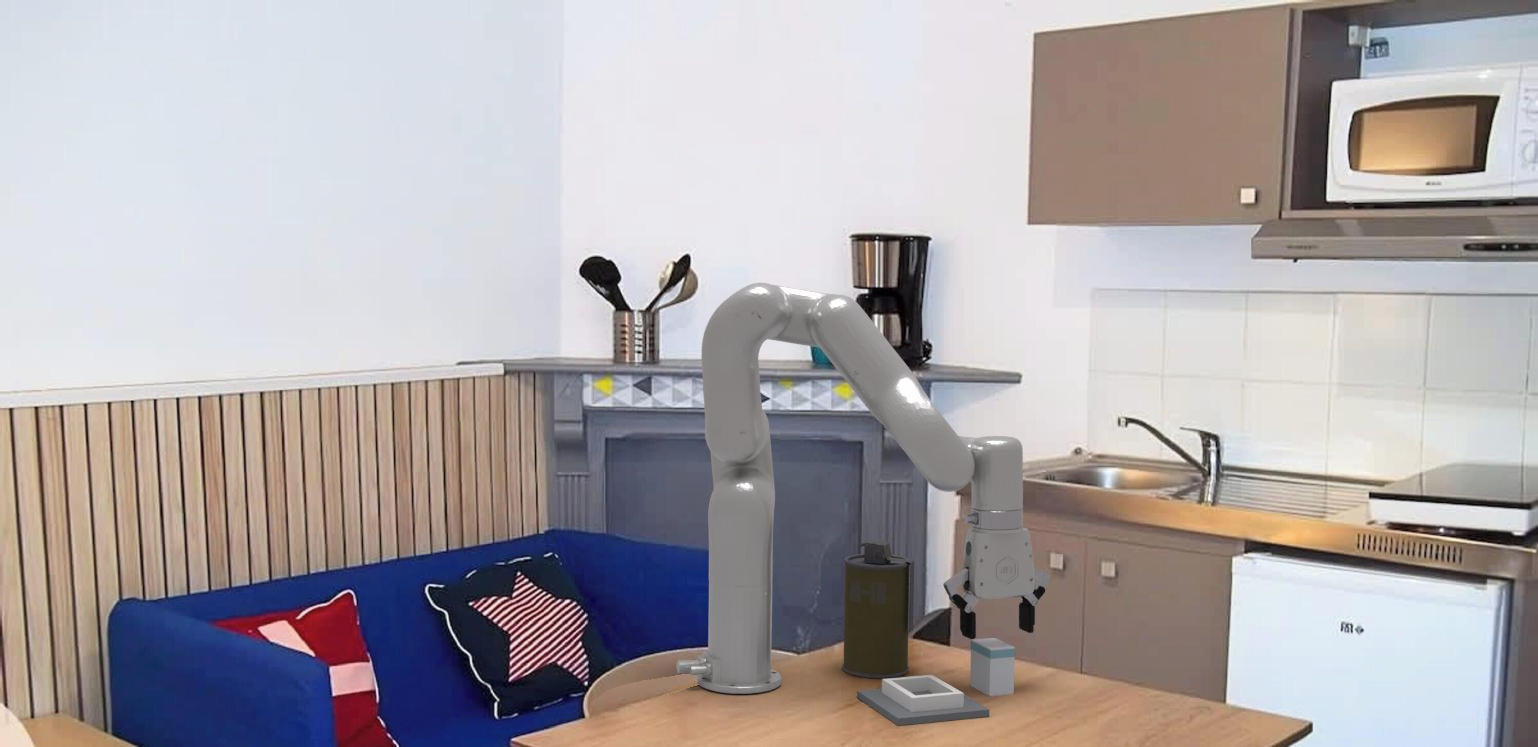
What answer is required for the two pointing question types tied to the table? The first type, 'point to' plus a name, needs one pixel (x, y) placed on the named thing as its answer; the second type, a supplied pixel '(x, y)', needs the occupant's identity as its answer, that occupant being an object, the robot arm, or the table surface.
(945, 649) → the table surface
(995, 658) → the plug
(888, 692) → the grey square socket base
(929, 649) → the table surface
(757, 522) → the robot arm
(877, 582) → the canister
